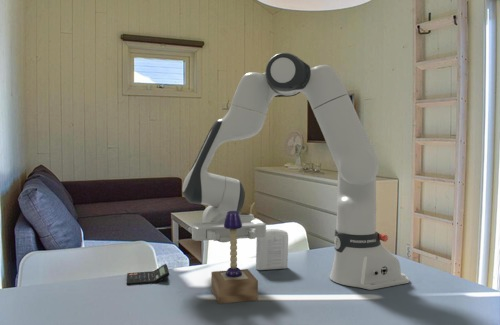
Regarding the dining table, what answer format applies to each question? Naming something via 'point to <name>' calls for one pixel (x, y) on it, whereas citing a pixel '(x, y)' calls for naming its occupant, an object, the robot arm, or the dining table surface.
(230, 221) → the toy lamp
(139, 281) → the calculator
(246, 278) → the cardboard box
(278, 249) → the white upright block
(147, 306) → the dining table surface
